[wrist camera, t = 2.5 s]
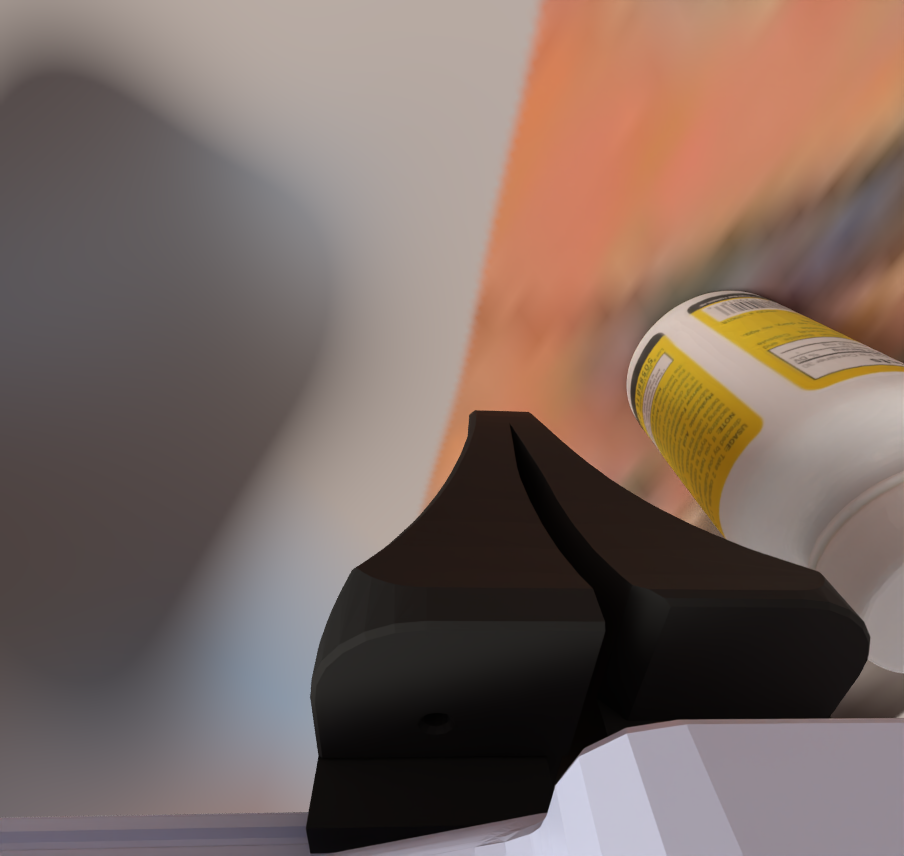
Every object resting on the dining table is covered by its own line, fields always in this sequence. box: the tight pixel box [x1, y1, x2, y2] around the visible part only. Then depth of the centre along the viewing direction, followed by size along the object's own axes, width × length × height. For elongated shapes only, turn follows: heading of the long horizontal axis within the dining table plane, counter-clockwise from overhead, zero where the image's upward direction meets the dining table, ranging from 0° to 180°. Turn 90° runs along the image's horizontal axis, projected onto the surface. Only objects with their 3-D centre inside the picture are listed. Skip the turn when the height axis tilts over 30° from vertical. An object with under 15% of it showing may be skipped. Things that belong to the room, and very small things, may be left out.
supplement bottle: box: [627, 291, 904, 673], centre depth 13 cm, size 5×5×10 cm
